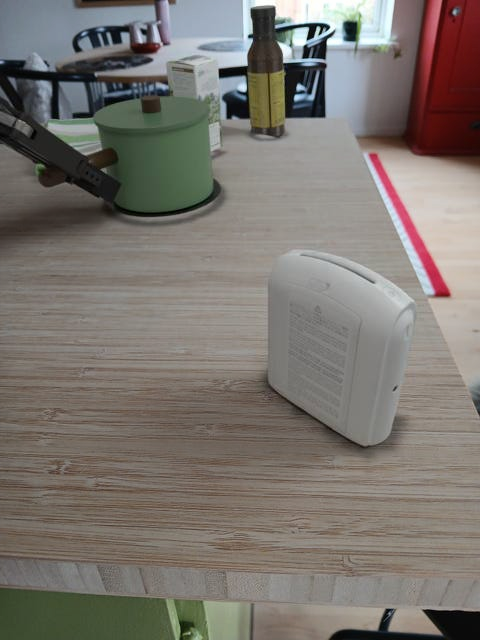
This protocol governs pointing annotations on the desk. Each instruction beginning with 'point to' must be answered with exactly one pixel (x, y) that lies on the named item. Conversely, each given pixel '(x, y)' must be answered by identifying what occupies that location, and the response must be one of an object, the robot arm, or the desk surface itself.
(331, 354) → the photo printer
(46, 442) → the desk surface
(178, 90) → the syrup box
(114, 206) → the trivet
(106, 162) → the pot
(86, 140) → the dish towel
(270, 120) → the sauce bottle
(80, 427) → the desk surface
